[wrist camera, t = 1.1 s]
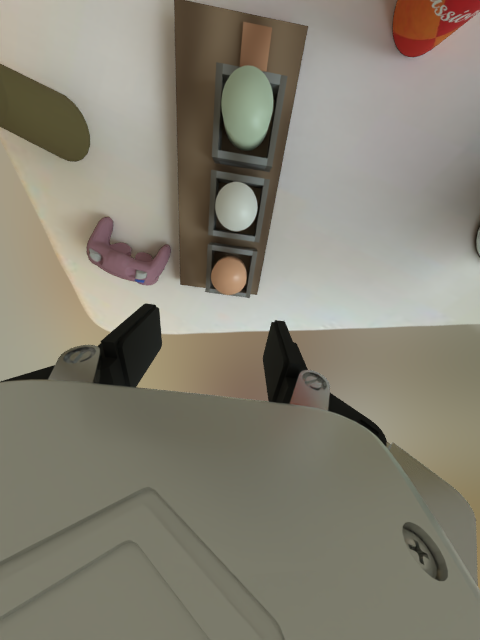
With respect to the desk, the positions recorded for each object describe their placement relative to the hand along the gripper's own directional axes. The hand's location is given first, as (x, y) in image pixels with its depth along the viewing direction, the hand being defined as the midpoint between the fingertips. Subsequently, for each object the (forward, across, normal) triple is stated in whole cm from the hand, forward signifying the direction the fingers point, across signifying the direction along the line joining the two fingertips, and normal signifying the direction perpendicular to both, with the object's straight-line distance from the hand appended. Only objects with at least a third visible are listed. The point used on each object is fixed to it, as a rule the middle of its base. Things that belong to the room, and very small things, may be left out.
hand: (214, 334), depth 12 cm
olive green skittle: (+20, +22, -13) cm, 32 cm away
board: (+20, +2, -10) cm, 22 cm away
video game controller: (+20, +14, 0) cm, 25 cm away
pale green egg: (+16, 0, -15) cm, 22 cm away
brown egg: (+16, 0, 0) cm, 16 cm away
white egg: (+16, 0, -8) cm, 17 cm away
